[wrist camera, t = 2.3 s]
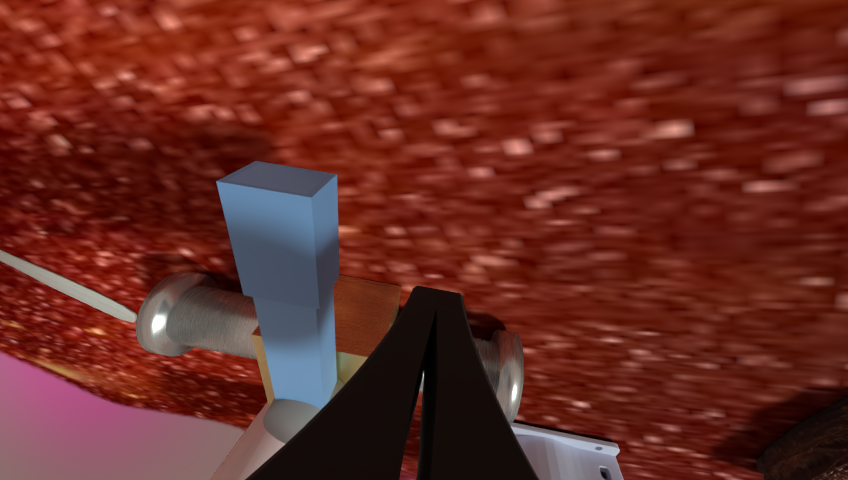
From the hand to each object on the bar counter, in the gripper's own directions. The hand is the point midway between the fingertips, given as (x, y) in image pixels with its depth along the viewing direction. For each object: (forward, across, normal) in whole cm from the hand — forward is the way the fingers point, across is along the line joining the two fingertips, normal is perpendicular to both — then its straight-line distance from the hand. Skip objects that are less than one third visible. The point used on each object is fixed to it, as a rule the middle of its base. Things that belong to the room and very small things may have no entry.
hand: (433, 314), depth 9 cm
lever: (+2, +5, +4) cm, 7 cm away
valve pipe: (+7, +5, +9) cm, 12 cm away
